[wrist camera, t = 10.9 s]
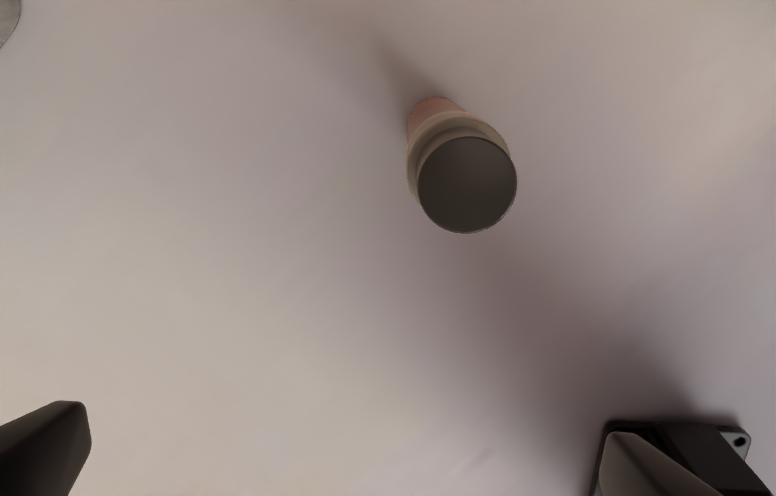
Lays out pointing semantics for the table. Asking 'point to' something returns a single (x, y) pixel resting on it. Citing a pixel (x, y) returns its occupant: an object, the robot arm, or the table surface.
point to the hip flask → (8, 18)
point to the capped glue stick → (458, 167)
